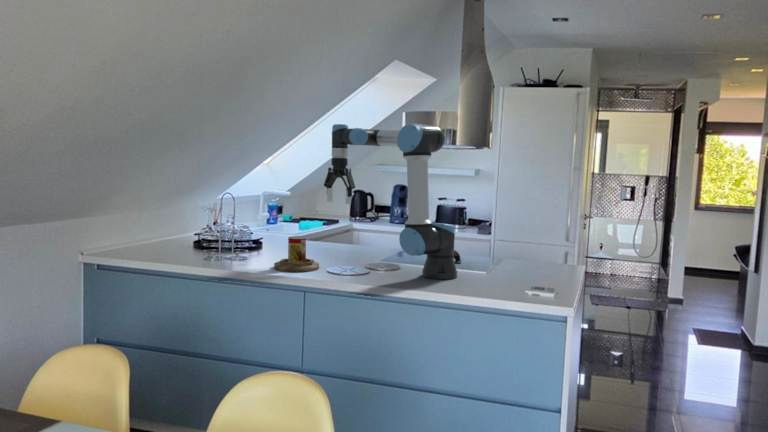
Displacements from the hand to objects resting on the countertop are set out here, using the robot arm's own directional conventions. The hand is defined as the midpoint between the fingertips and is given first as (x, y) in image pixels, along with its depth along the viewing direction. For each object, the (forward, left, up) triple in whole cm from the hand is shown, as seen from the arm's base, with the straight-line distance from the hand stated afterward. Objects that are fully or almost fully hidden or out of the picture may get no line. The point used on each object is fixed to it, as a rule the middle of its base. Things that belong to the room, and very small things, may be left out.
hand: (338, 202), depth 296 cm
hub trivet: (0, +24, -29) cm, 37 cm away
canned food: (0, +24, -27) cm, 36 cm away
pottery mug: (-32, -46, -29) cm, 63 cm away
